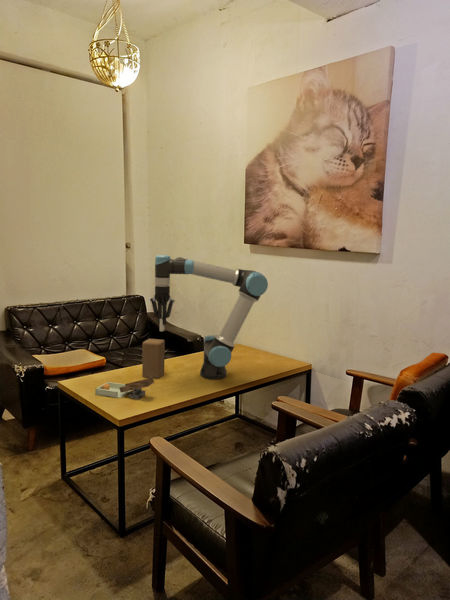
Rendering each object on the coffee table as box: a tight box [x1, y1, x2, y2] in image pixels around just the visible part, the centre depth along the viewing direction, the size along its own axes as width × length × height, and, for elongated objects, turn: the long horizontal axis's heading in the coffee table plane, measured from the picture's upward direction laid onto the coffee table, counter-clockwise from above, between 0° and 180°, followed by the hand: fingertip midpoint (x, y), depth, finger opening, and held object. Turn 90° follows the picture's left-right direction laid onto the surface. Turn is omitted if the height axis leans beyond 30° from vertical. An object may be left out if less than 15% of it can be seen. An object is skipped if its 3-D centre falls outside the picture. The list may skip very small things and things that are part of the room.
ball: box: [102, 383, 110, 390], centre depth 228 cm, size 4×4×4 cm
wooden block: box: [141, 338, 166, 379], centre depth 254 cm, size 10×10×20 cm
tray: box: [95, 381, 133, 399], centre depth 227 cm, size 14×11×3 cm
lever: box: [119, 376, 155, 393], centre depth 226 cm, size 16×14×4 cm
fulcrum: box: [128, 388, 146, 400], centre depth 223 cm, size 5×7×4 cm
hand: (162, 330), depth 235 cm, fingers closed
